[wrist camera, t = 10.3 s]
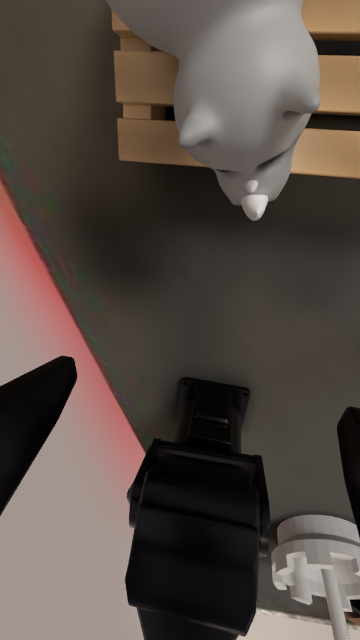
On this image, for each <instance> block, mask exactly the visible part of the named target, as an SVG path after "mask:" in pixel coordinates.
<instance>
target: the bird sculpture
mask: <svg viewBox="0 0 360 640" xmlns="http://www.w3.org/2000/svg"><path fill="white" fill-rule="evenodd" d="M344 616H345V618H346V619H348V620H350V621H352V622H354V623H356V624H358V625H360V615H359V613H358V612H357V611H355V612H354V610H352V612H346V611H344Z"/></svg>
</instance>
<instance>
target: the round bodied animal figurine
mask: <svg viewBox="0 0 360 640" xmlns="http://www.w3.org/2000/svg"><path fill="white" fill-rule="evenodd" d="M105 1H106V2H107V4H108V5H109V6H110V8H111V9H112V10H113V11H114V13H115V14H116V15H117V16H118V17H119V18H120V19H121V21H122V22H123V23H124V24H125V25H126V26H127V27H128V28H129V29H130V30H131V31H132V32H134V33H135V34H136V35H137V36H138V37H140V38H141V39H142V40H144V41H145V42H147V43H148V44H150V45H151V46H153V47H155V48H157V49H159V50H162V51H164V52H166V53H168V54H170V55H172V56H174V57H177V58H178V59H179V69H178V73H177V77H176V82H175V89H174V114H175V121H176V126H177V130H178V133H179V135H178V143H179V145H180V147H182V148H184V149H186V150H187V152H188V153H189V154H190V156H191V157H192V158H194V159H195V160H197V161H198V162H200V163H202V164H204V165H205V166H208V167H210V168H211V169H213V170H214V171H215V172H216V175H217V178H218V182H219V185H220V187H221V188H222V190H223V191H224V193H225V194H226V195H227V196H228V198H229V199H230V201H231V203H232V204H233V205H236V206H239V205H242V207H243V210H244V212H245V213H246V215H247V216H248V217H249V218H250V219H251V220H253V221H256V220H258V219H260V218H261V216H262V215H263V213H264V211H265V208H266V205H267V202H268V201H273V200H275V199H276V198H277V197H278V196H279V194H280V192H281V190H282V189H283V187H284V185H285V184H286V182H287V179H288V177H289V174H290V171H291V166H292V158H293V151H294V148H295V146H296V144H297V142H298V140H299V138H300V136H301V134H302V132H303V130H304V128H305V126H306V124H307V122H308V120H309V118H310V116H311V114H312V113H314V112H316V111H317V110H318V108H319V106H320V94H319V91H318V90H319V82H320V66H319V58H318V53H317V49H316V46H315V44H314V42H313V39H312V37H311V36H310V34H309V32H308V31H307V29H306V27H305V25H304V23H303V21H302V17H301V10H302V5H303V1H304V0H105Z"/></svg>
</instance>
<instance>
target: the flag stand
mask: <svg viewBox="0 0 360 640" xmlns="http://www.w3.org/2000/svg"><path fill="white" fill-rule="evenodd" d="M277 537H278V546H277V547H276V548H275V549H274V550H273V552H272V554H271V561H272V575H273V582H274V585H275V586H276V587H277V589H278V590H287V589H286V584H287V585H288V586H290V592H291V598H292V599H295V600H297V601H299V602H302V603H305V604H308V605H310V604H311V603H312V597H311V594H313V595H317V596H322V597H326V598H327V604H328V609H329V614H330V619H331V625H332V630H333V635H334V640H350V638H349V634H348V629H347V625H346V620H345V616H344V611H346V612H352V608H351V604H350V599H360V538H359V534H358V530H357V526H356V525H355V524H353V523H351V522H349V521H347V520H344V519H341V518H337V517H332V516H326V515H300V516H295V517H292V518H289V519H286V520H285V521H283V522H282V523H281V524H279V526H278V528H277Z"/></svg>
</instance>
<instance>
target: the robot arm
mask: <svg viewBox="0 0 360 640" xmlns="http://www.w3.org/2000/svg"><path fill="white" fill-rule="evenodd" d="M76 380H77V371H76V366H75V361H74V359H73V358H72V357H67V356H60V357H58V358H56V359H54V360H52V361H50V362H48V363H46V364H44V365H42V366H40V367H38V368H36V369H34V370H32V371H30V372H28V373H26V374H24V375H22V376H20V377H18V378H16V379H14V380H12V381H10V382H8V383H6V384H4V385H2V386H0V516H1V514H2V512H3V511H4V509H5V507H6V506H7V504H8V502H9V501H10V499H11V497H12V496H13V494H14V492H15V490H16V489H17V487H18V486H19V484H20V482H21V480H22V479H23V477H24V476H25V474H26V472H27V471H28V469H29V467H30V466H31V464H32V462H33V461H34V459H35V457H36V456H37V454H38V453H39V451H40V449H41V447H42V446H43V444H44V443H45V441H46V439H47V438H48V436H49V434H50V433H51V431H52V429H53V427H54V426H55V424H56V422H57V421H58V419H59V417H60V415H61V413H62V410H63V408H64V406H65V404H66V402H67V400H68V398H69V395H70V393H71V391H72V389H73V387H74V385H75V383H76ZM185 382H187V383H185ZM249 398H250V390H249V389H248V388H245V387H239V386H233V385H228V384H222V383H216V382H211V381H205V380H199V379H194V378H188V377H184V378H183V379H182V381H181V387H180V400H179V412H178V423H179V424H178V428H177V433H176V437H175V441H174V442H168V441H162V440H161V439H157V438H154V440H153V443H152V445H151V446H150V447H149V449H148V451H147V453H146V455H145V458H144V460H143V462H142V464H141V467H140V469H139V471H138V473H137V475H136V478H135V480H134V482H133V484H132V485H131V487H130V488H129V490H128V493H127V499H128V501H129V504H130V513H129V525H130V527H133V528H134V535H133V540H132V546H131V552H130V558H129V564H128V568H127V573H126V577H125V583H126V591H127V598H128V603H129V605H130V606H134V607H137V611H138V615H139V619H140V623H141V628H142V632H143V636H144V640H236V639H237V637H238V635H241V636H246V634H247V632H248V630H249V627H250V625H251V623H252V621H253V618H254V616H255V613H256V601H257V592H258V562H259V556H263V557H266V556H267V553H268V548H269V538H270V510H269V500H268V493H267V487H266V481H265V475H264V469H263V462H262V456H260V455H254V456H253V455H247V454H241V427H242V423H243V420H244V416H245V412H246V409H247V405H248V401H249ZM337 434H338V440H339V447H340V454H341V461H342V467H343V474H344V479H345V484H346V488H347V492H348V496H349V500H350V503H351V507H352V511H353V515H354V519H355V522H356V526H357V530H358V534H359V538H360V408H356V407H347V408H346V410H345V411H344V413H343V415H342V417H341V419H340V420H339V422H338V425H337Z"/></svg>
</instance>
